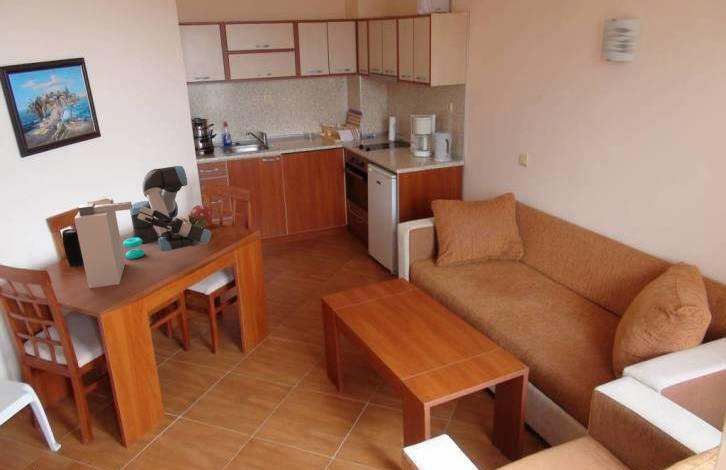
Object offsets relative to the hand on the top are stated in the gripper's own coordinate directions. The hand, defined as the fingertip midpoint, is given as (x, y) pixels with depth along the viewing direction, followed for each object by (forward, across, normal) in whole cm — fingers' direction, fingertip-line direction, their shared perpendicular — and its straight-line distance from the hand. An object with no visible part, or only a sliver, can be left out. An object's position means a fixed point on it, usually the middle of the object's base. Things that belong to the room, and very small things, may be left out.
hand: (139, 211), depth 280 cm
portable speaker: (+17, -32, +49) cm, 62 cm away
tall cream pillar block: (+1, -8, +40) cm, 41 cm away
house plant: (-38, -50, +17) cm, 66 cm away
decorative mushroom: (-42, -74, +15) cm, 86 cm away
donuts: (-9, -33, +34) cm, 48 cm away
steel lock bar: (+13, 0, +5) cm, 14 cm away
